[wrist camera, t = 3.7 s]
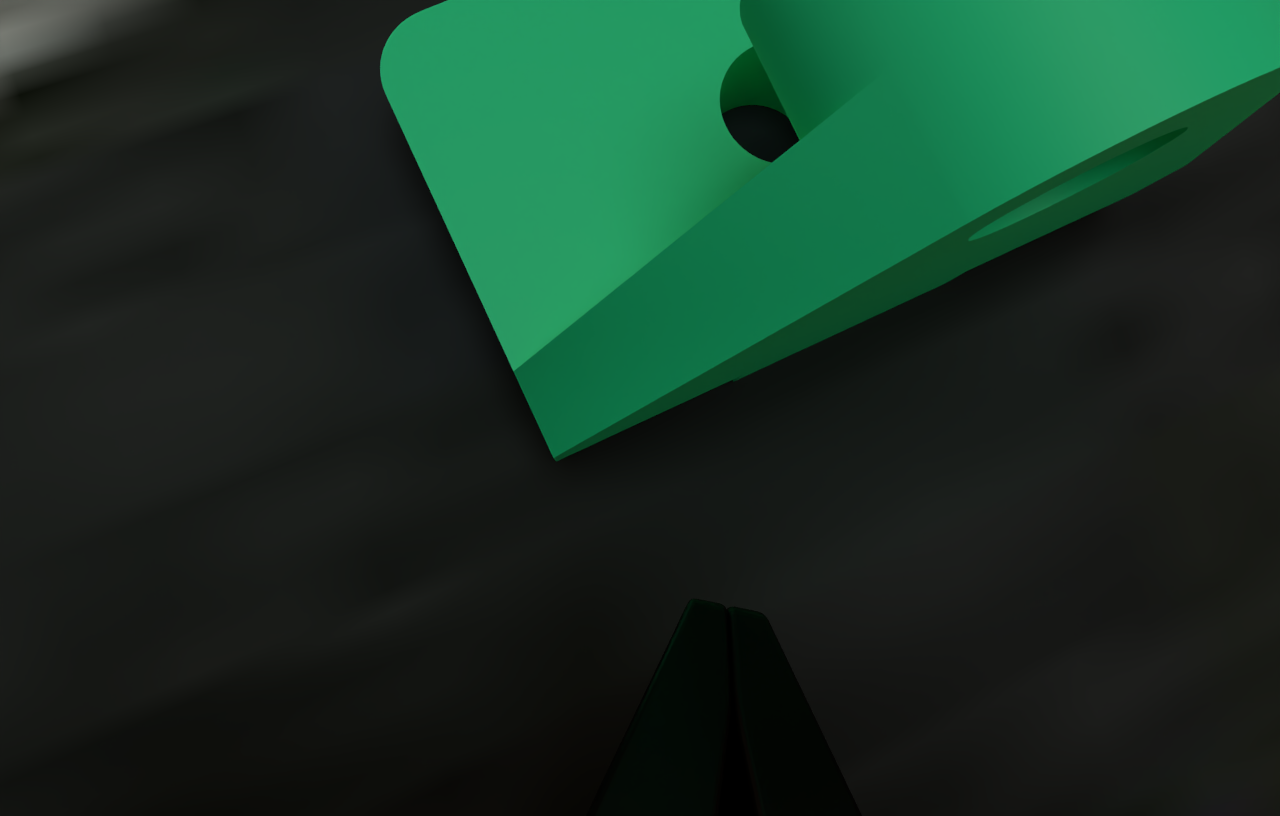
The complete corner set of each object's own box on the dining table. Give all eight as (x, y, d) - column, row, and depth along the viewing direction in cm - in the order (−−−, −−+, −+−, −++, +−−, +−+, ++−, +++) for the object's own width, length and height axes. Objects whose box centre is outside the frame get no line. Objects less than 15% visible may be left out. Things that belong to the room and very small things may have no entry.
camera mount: (929, -113, 18) (1392, -916, 8) (1096, 213, 17) (1824, -183, 7) (393, 107, 17) (96, -504, 6) (557, 463, 16) (518, 413, 6)
